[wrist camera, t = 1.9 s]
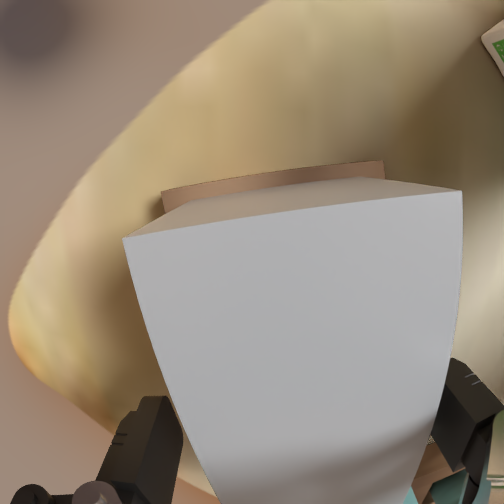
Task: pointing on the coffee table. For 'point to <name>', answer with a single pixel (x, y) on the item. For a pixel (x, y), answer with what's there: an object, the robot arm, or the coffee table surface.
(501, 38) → the skincare box
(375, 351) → the white rectangular block
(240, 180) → the board
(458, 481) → the board
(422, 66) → the coffee table surface
